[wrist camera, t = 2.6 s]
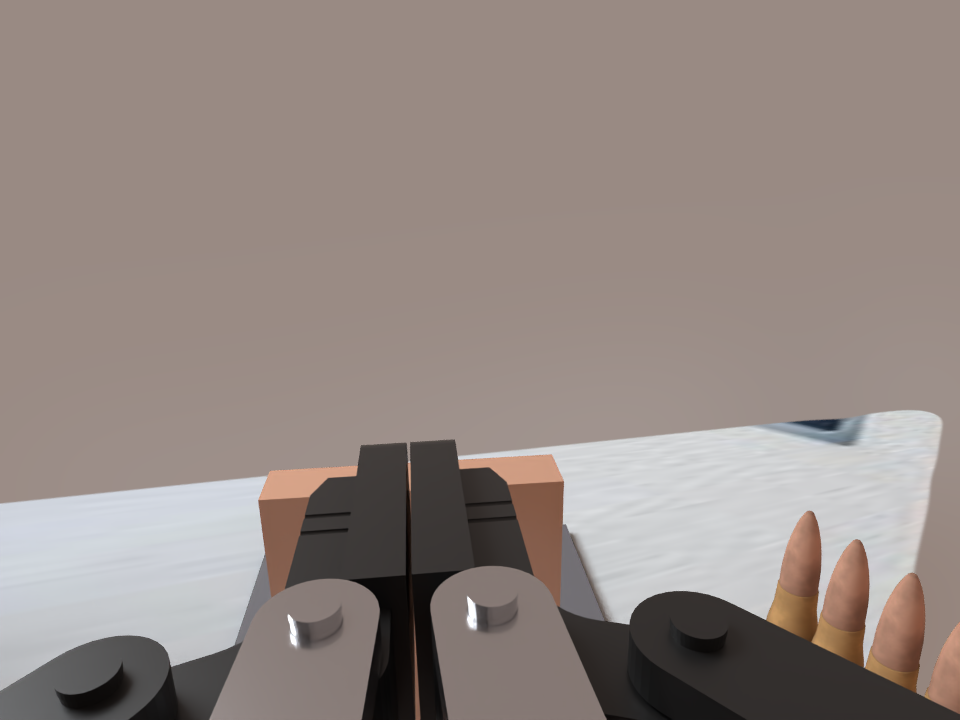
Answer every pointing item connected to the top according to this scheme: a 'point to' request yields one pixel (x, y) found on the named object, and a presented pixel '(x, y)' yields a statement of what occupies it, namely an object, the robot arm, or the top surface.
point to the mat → (572, 595)
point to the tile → (526, 476)
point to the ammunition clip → (860, 615)
